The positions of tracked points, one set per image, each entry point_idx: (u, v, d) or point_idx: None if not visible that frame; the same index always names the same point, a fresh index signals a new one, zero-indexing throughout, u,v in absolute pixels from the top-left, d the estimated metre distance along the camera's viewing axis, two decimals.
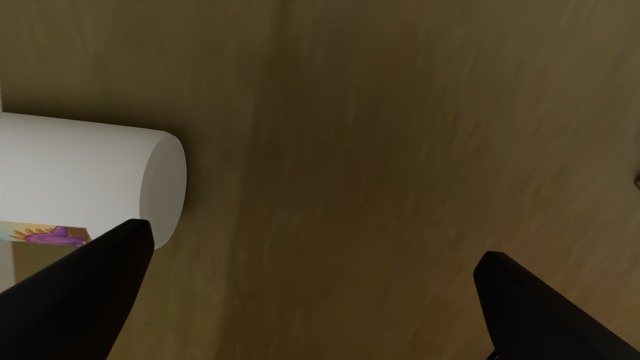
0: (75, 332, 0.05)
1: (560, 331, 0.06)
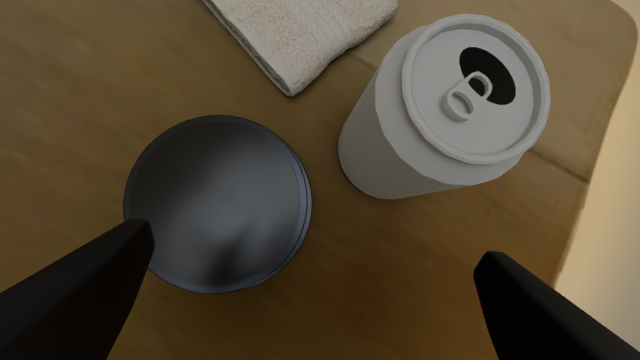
0: (75, 332, 0.05)
1: (560, 331, 0.06)
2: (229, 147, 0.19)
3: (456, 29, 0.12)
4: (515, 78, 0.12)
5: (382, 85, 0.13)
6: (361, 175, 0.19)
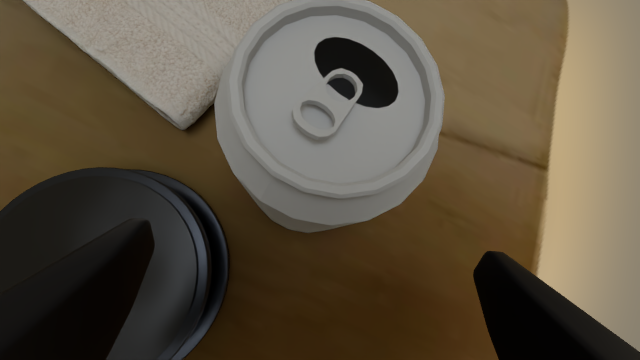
0: (75, 332, 0.05)
1: (560, 331, 0.06)
2: (96, 208, 0.15)
3: (306, 18, 0.09)
4: (394, 69, 0.09)
5: (220, 106, 0.09)
6: (267, 214, 0.15)
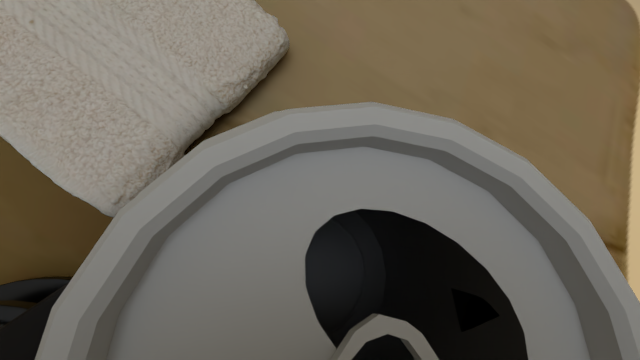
0: None
1: None
2: None
3: (286, 160, 0.04)
4: (514, 291, 0.04)
5: None
6: None
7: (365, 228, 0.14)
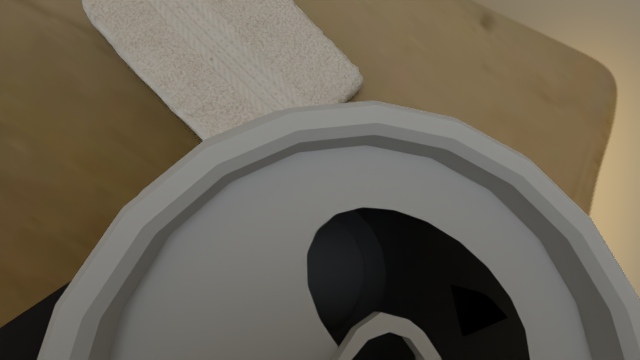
0: None
1: None
2: None
3: (288, 158, 0.04)
4: (515, 289, 0.04)
5: None
6: None
7: (365, 228, 0.14)
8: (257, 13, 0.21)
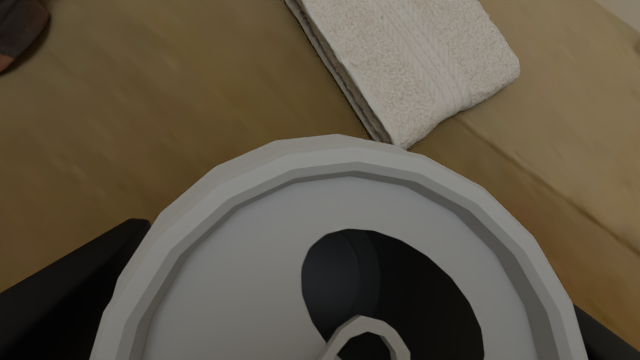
0: (75, 332, 0.05)
1: None
2: None
3: (285, 189, 0.04)
4: (473, 296, 0.04)
5: None
6: None
7: (360, 232, 0.15)
8: None
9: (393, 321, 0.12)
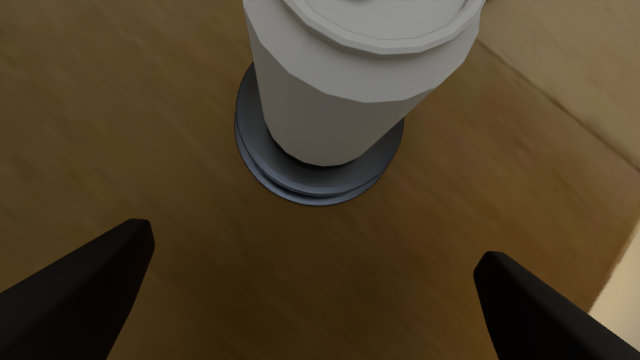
0: (75, 332, 0.05)
1: (560, 331, 0.06)
2: None
3: None
4: None
5: None
6: (284, 134, 0.14)
7: None
8: None
9: None
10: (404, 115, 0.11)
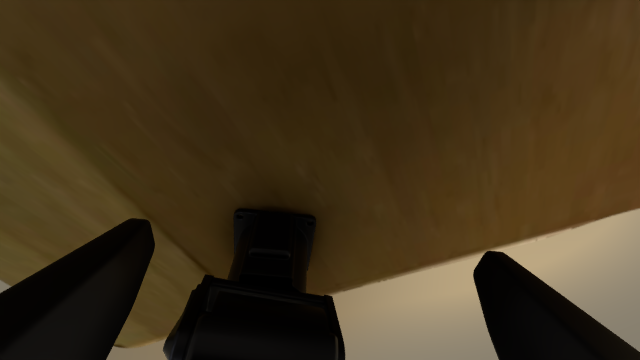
0: (75, 332, 0.05)
1: (560, 331, 0.06)
2: None
3: None
4: None
5: None
6: None
7: None
8: None
9: None
10: None
